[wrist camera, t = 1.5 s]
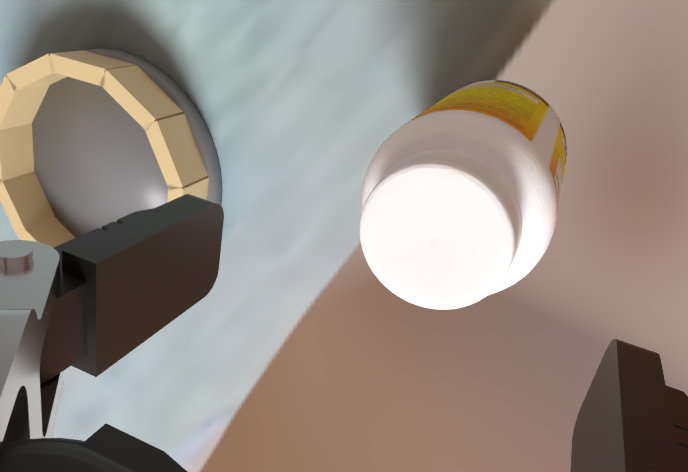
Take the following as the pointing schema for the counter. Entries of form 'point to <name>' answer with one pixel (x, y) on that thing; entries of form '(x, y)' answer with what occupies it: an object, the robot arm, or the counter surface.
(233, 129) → the counter surface
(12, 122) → the tan faceted ring
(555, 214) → the supplement bottle
